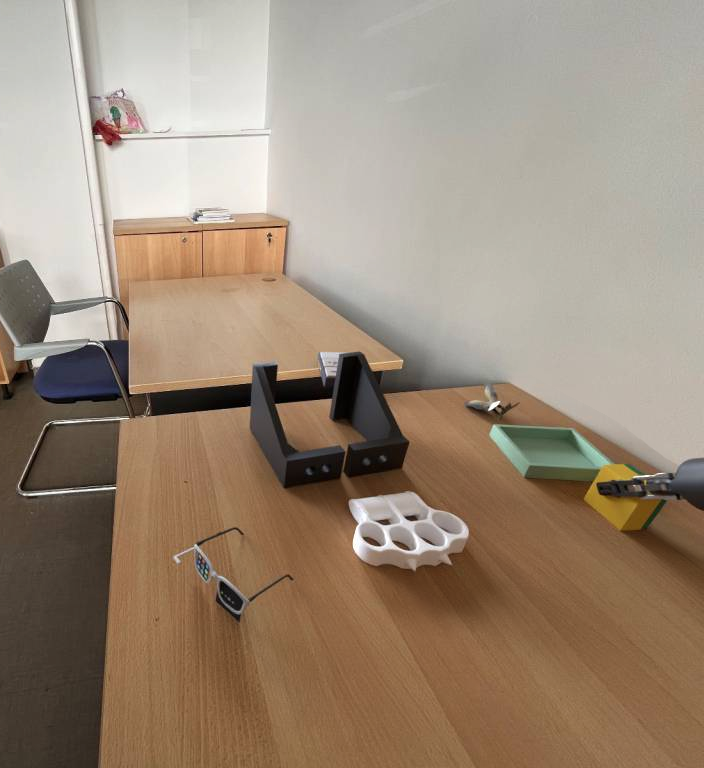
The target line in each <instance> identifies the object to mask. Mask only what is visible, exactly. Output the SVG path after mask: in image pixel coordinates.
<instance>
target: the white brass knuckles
mask: <svg viewBox="0 0 704 768" xmlns="http://www.w3.org/2000/svg"><path fill="white" fill-rule="evenodd" d="M348 508H349V511H350V513H351V514H352V517H353V518H354V520H355V521H356V522H357V524H358V525H357V526H356V529H355V532H354V535H353V540H352V548H353V551H354V553H355V554H356V556H357V557H359V559H361V561H362V562H364V563H366V564H368V565H371V566H372V567H373V566H374V567H379V566H381V565H382V566H383V565H391V566H395V567H398V568H400V569H403V570H404V569H405V570H412V571H414V572H416V570H417V569H418V568H419V567H421V566H433V567H436V566H438V565H440V564H442V563H444V564H447V565H450V566H453V564H452V562H451V559H450V557H449V555H450V554H461V553H462V552H463V550H464V549H465V546H466V543H467V541H468V539H469V537H470V530H469V527H468V526H467V524H466V523H465V522H464V521H463V520H462V519H461V518H460V517H459V516H456V515H454V514H453V513H450V512H448V511H444V510H438V509H435V508H432V507H430V506H429V505H427V504H426V503H425V502H424V500H422V498H421V497H420V496H419V495H418V494H417V493H416V492H414V491H410V490H407V491H404V492H398V493H391V494H384V495H383V494H378V495H377V496H371V497H363V498H362V497H361V498H350V499H349V500H348ZM411 516H414V517H415V518H416V520H413V521H412V520H408V519H407V518H406V517H411ZM384 520H386V521H387V522H388V523H389V524H387V525H384V524H381V523H380V522H379V521H384ZM364 538H369V539H373V540H374V541H376V542H377V543H378V544H379V545H380V546H377V545H376V546H375V545H372V544H370V543H369V542H367V541H366V540H364ZM424 539H425V540H427V541H429V542H431V543H432V544H430V543H428V542H427V541H425V540H424ZM394 542H399V543H401V544H403V545H405V546H406V547H407V548H408V549H409V550H405V549H403V548H400V547H399V546H397V545H396V544H395V543H394Z"/></svg>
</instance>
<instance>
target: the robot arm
mask: <svg viewBox="0 0 704 768" xmlns="http://www.w3.org/2000/svg"><path fill="white" fill-rule="evenodd" d="M676 469H677V470H676V472H661V473H659V472H658V473H655V474H654V475H647V476H635V477H632V479H631V480H618V481H615V480H611V481H608V482H597V483H596V486H597V489H598V493H599V494H600V495H601V496H612V495H613V497H616V498H619V497H638V498H640V499H664V500H667V501H684V500H685V501H686V502H687V503H688V504H690V505H691V506H693V507H694V508H695V509H698V510H700V511H702V512H704V457H694V458H693V457H692V458H689V459H687V460H684V461H682V463H680V464H679V466H678V467H677V468H676ZM646 479H652V480H648V481H647V482H646V485H645V484H644V480H646ZM647 491H649V492H650V493H651V494H654V495H650V494H648V493H647Z"/></svg>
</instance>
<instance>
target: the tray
mask: <svg viewBox="0 0 704 768" xmlns="http://www.w3.org/2000/svg"><path fill="white" fill-rule="evenodd" d="M489 438H491V440H492V441H493V442H494V443H495V444H496V445H497V447H498V449H500V451H501V452H502V453H503V454H504V456H506V458H507V459H508V460H509V461H510V462H511V464H512V465H513V466H514V468H516V470H517V471H518V472H519V474H521V476H523V478H529V479H545V480H559V481H560V480H561V481H577V482H590V483H591V482H592V483H593V482H594V480H595V479H596V477H597V475H598V473H599V472H600V470H601V468H602V467H603V465H614V464H615V463H614V462H613V460H611V459H610V458H609V457H607V455H605V454H604V453H603V452H602V451H600V449H598V448H597V447H596V446H595V445H594V444H592V443H591V442H590V441H589V440H588V439H586V437H584V436H583V435H582V434H581V433H580V432H579V431H578V430H576V429H575V428H573V427H558V426H557V427H555V426H535V425H534V426H533V425H514V424H513V425H512V424H496V423H495V424H494V423H493V425H492V427H491V430H490V433H489Z"/></svg>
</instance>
